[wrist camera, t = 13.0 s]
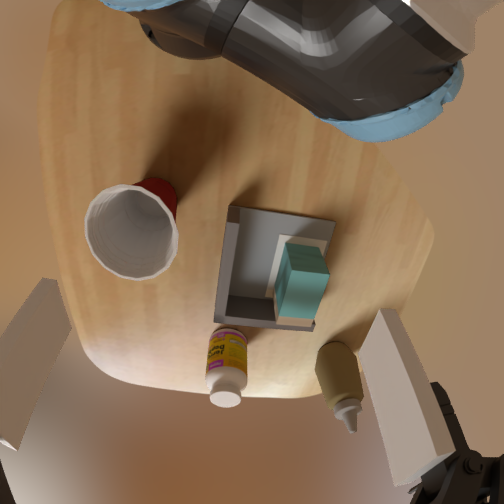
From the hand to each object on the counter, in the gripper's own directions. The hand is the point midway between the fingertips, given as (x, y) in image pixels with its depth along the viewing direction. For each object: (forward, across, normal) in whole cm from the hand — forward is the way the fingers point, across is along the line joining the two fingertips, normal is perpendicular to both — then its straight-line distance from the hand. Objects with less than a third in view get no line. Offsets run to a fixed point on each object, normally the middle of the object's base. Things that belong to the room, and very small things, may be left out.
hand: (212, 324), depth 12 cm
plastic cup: (+30, -10, -7) cm, 33 cm away
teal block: (+30, +10, -17) cm, 36 cm away
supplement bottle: (+30, +1, -33) cm, 45 cm away
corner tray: (+30, +7, -16) cm, 35 cm away
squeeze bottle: (+30, +21, -35) cm, 51 cm away
